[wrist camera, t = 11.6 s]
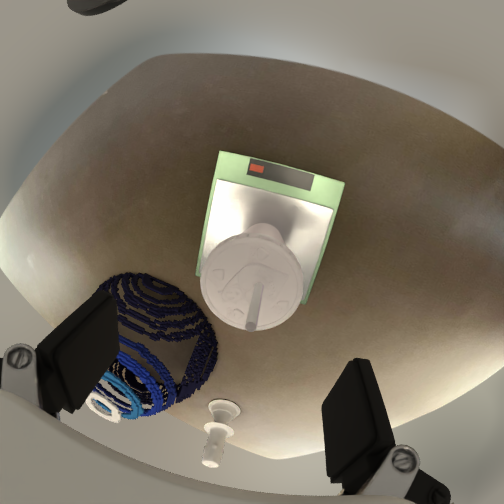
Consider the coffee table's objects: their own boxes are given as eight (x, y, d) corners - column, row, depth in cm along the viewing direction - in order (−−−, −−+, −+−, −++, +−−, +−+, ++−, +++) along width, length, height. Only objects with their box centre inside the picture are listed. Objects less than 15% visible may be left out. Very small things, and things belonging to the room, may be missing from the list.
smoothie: (306, 261, 25) (324, 361, 12) (244, 282, 27) (210, 386, 14) (282, 198, 24) (282, 243, 11) (217, 222, 25) (150, 289, 12)
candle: (203, 408, 40) (184, 464, 28) (218, 394, 38) (200, 456, 26) (230, 421, 40) (217, 477, 29) (246, 408, 38) (235, 469, 27)
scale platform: (218, 177, 25) (216, 178, 24) (332, 207, 24) (334, 209, 24) (200, 270, 28) (198, 273, 27) (303, 297, 28) (304, 300, 27)
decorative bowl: (198, 402, 39) (174, 472, 25) (94, 352, 39) (50, 405, 25) (237, 312, 32) (209, 401, 19) (99, 251, 32) (24, 298, 19)
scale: (226, 151, 27) (218, 149, 23) (338, 180, 26) (346, 183, 23) (202, 265, 31) (193, 277, 28) (303, 292, 31) (305, 306, 27)
